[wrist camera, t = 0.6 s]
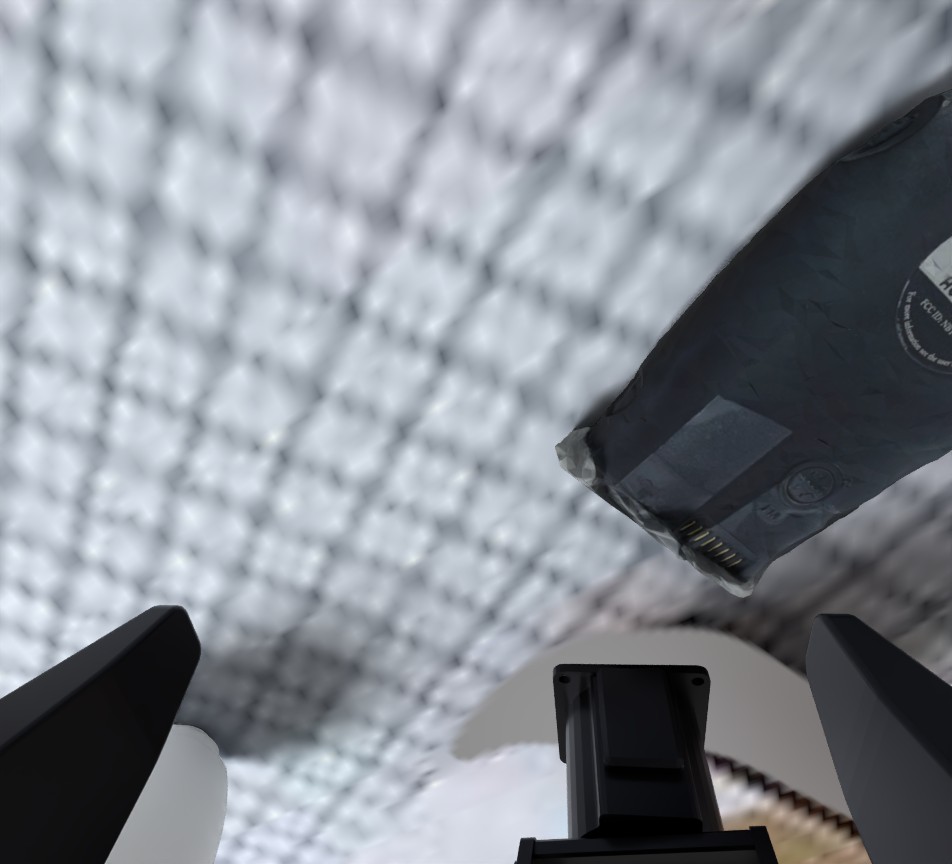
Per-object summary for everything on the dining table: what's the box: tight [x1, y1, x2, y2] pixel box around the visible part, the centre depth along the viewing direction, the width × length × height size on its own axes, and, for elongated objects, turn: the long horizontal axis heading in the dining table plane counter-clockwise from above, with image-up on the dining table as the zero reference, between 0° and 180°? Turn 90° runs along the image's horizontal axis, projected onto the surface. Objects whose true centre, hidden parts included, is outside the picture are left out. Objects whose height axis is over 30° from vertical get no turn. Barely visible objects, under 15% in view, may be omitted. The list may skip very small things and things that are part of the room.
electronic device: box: [555, 89, 952, 598], centre depth 16 cm, size 9×6×15 cm
